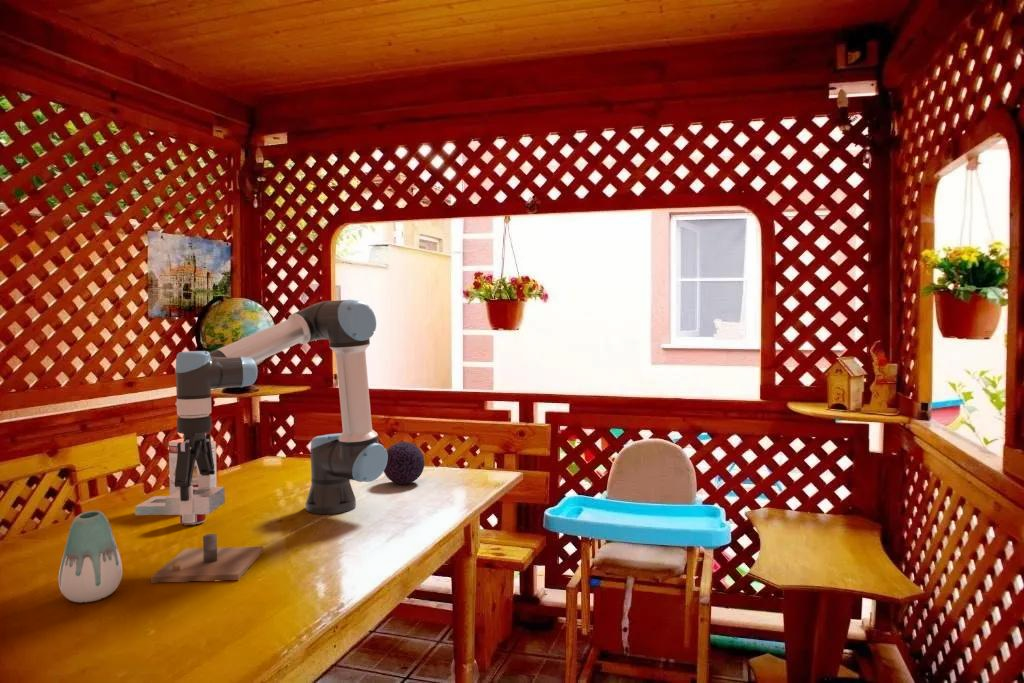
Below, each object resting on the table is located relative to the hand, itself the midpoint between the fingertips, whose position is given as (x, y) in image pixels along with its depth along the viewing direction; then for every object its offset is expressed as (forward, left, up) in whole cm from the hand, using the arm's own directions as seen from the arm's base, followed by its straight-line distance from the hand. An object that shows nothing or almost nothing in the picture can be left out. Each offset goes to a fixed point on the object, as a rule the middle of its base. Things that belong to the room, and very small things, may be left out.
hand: (196, 507), depth 166 cm
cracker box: (+21, -53, -14) cm, 59 cm away
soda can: (+14, -35, -14) cm, 40 cm away
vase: (+15, +19, -14) cm, 28 cm away
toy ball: (-43, -78, -14) cm, 90 cm away
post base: (-4, +3, -14) cm, 14 cm away
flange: (+4, 0, 0) cm, 4 cm away
